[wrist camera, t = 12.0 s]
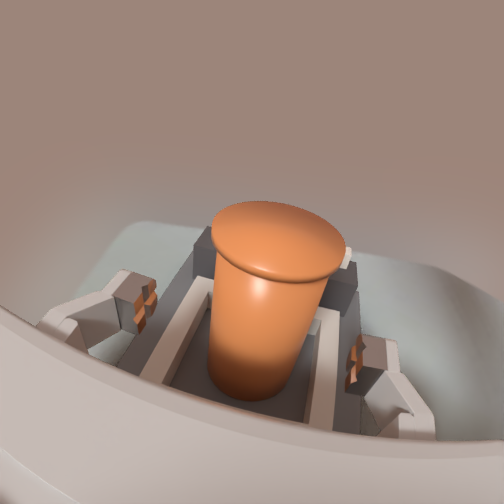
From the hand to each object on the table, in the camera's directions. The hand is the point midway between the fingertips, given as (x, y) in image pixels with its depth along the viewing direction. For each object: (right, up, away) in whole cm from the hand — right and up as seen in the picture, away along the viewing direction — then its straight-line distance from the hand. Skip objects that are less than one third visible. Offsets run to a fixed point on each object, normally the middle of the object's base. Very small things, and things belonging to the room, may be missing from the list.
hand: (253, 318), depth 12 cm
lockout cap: (0, -4, +6) cm, 7 cm away
